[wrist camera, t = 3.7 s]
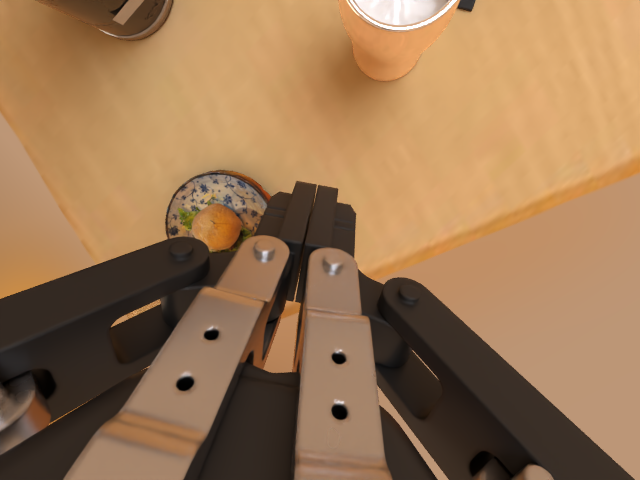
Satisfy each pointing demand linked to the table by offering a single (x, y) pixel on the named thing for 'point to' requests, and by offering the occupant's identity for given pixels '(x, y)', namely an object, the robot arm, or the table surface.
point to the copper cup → (393, 32)
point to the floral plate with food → (217, 210)
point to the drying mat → (466, 4)
